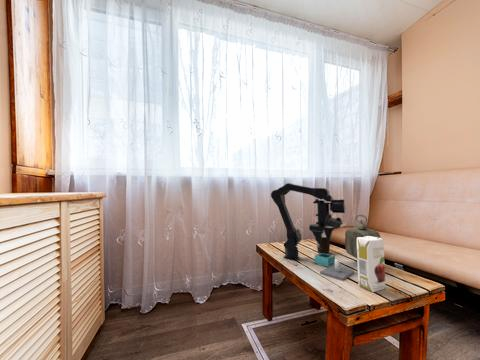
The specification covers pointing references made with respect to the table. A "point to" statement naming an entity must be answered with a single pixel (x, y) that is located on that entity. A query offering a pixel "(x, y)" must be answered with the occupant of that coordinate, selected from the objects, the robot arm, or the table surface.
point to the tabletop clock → (352, 236)
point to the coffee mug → (323, 245)
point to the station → (337, 271)
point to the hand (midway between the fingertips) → (324, 242)
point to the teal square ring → (325, 259)
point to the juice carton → (371, 263)
